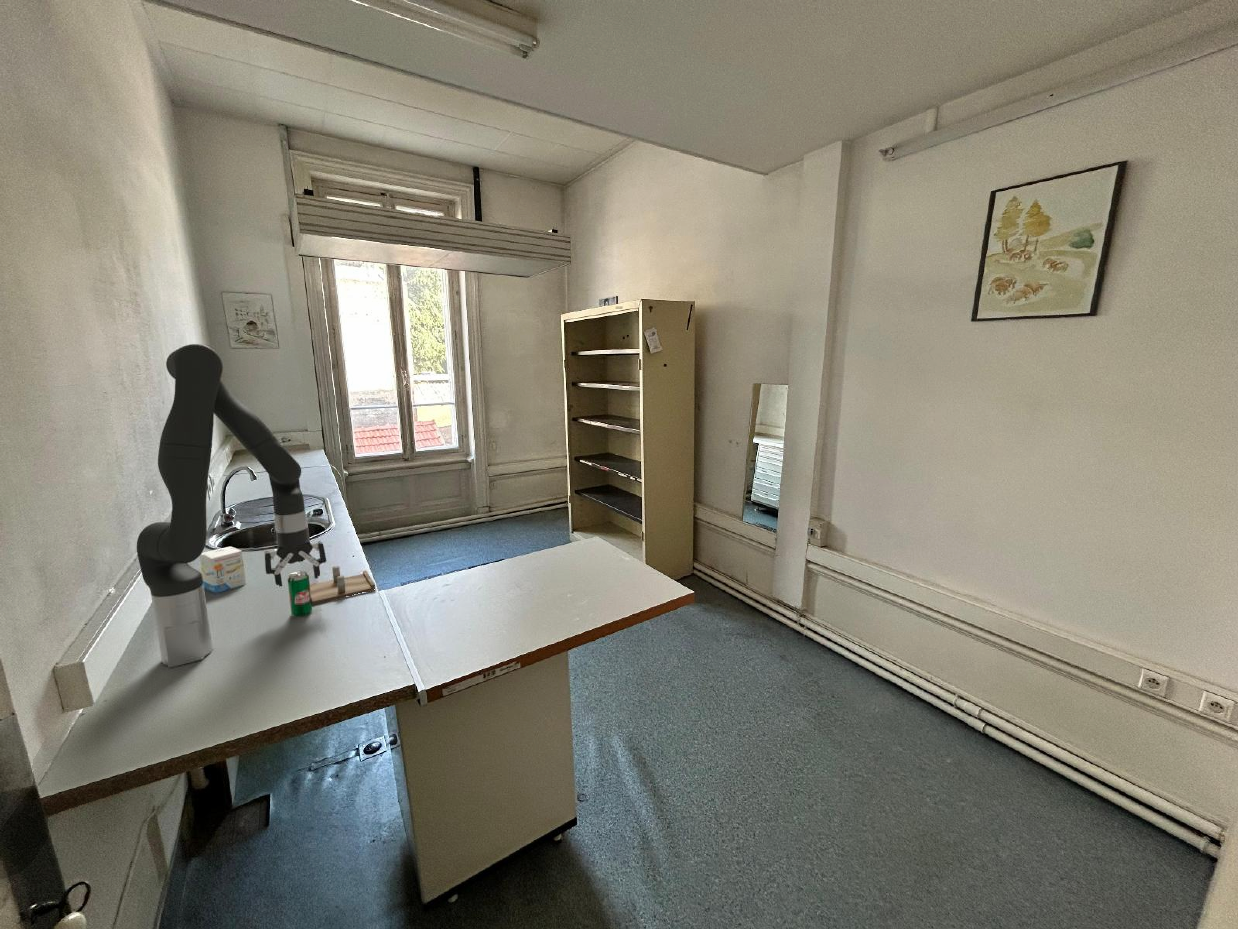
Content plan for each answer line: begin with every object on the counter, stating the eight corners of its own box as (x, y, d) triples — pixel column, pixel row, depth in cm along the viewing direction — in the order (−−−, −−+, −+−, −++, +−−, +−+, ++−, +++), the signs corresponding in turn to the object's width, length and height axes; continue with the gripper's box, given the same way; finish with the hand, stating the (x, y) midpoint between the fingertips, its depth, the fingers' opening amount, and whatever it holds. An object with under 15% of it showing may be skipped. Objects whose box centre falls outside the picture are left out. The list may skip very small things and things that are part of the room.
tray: (375, 590, 154) (374, 572, 153) (308, 606, 143) (306, 586, 142) (366, 576, 165) (365, 559, 164) (304, 589, 154) (302, 571, 153)
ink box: (215, 594, 150) (210, 558, 148) (203, 588, 154) (198, 553, 152) (247, 584, 157) (242, 550, 155) (234, 578, 162) (230, 545, 160)
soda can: (296, 619, 135) (292, 578, 133) (288, 614, 138) (283, 574, 136) (315, 612, 139) (311, 572, 137) (307, 607, 142) (302, 569, 140)
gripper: (261, 536, 127) (269, 593, 130) (323, 525, 136) (329, 579, 139) (259, 528, 133) (267, 583, 136) (319, 519, 142) (325, 571, 145)
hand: (298, 581), depth 138 cm, fingers open, 8 cm apart
